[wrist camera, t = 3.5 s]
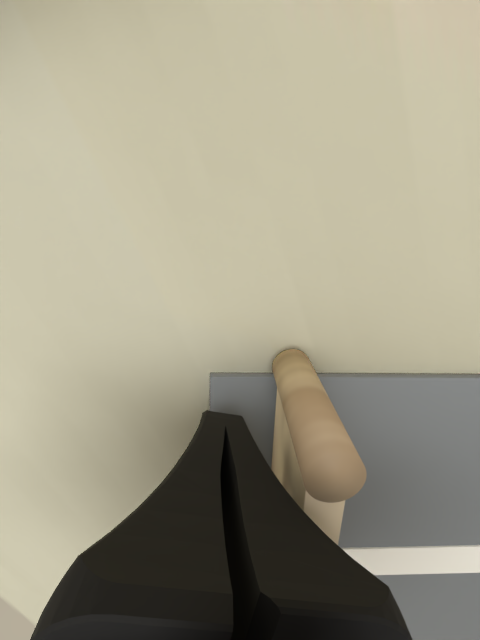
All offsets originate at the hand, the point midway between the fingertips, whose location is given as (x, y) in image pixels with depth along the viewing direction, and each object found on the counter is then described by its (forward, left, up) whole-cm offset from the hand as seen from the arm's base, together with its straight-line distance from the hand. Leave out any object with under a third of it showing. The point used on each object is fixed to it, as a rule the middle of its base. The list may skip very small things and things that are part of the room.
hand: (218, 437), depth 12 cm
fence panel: (-3, +2, -2) cm, 4 cm away
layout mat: (-8, +8, -2) cm, 11 cm away
